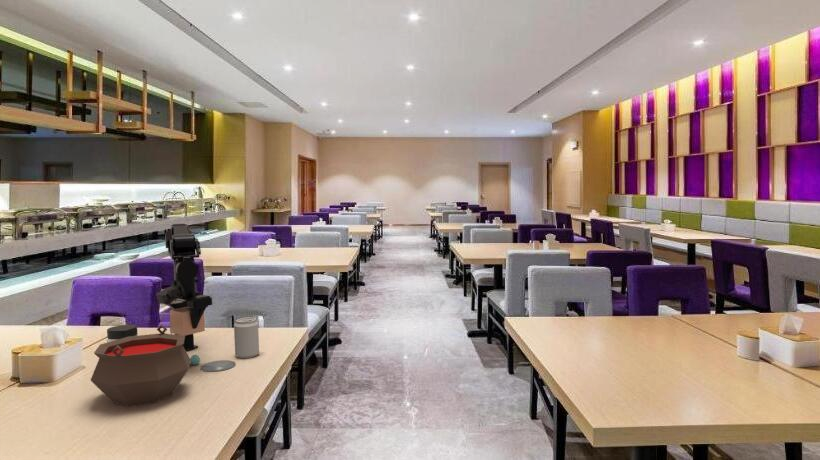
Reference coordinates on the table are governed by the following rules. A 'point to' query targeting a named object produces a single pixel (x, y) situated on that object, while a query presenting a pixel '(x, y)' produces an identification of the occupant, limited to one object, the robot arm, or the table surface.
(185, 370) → the brown cauldron
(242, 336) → the can
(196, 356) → the marble teal
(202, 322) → the peach beveled cube
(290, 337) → the table surface
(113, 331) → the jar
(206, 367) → the coaster
